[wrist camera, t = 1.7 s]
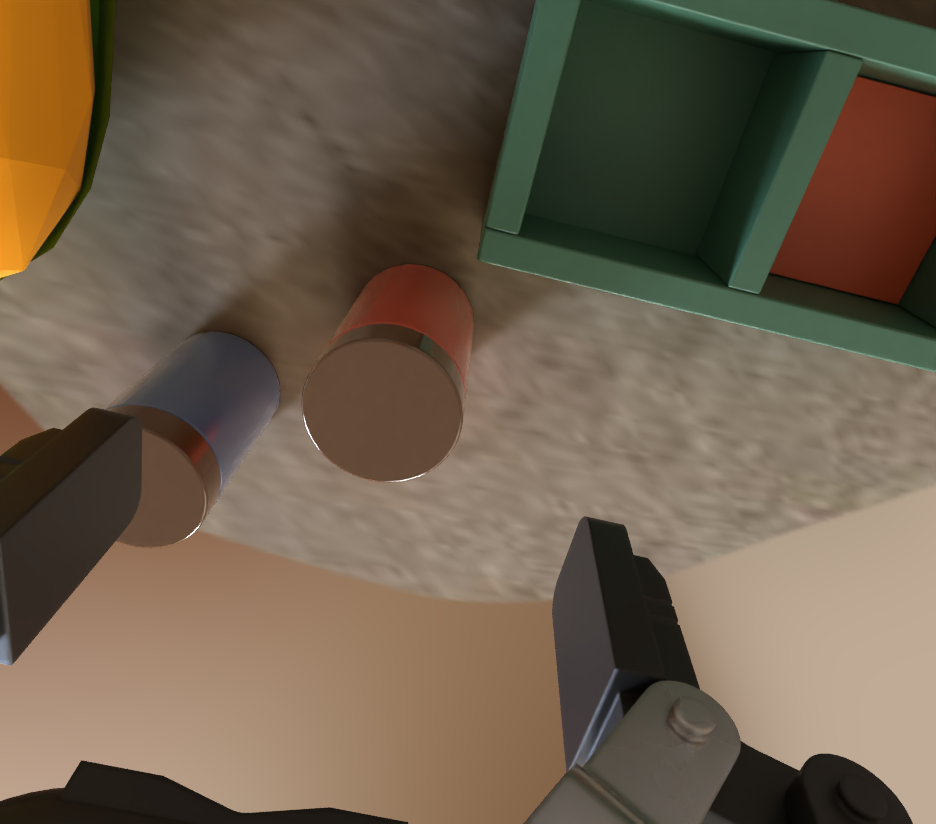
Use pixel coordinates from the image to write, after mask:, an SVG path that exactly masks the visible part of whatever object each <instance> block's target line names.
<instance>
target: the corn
mask: <svg viewBox="0 0 936 824" xmlns="http://www.w3.org/2000/svg"><path fill="white" fill-rule="evenodd" d="M114 20H115V0H0V280H2V279H3V278H5V277H7V276H8V275H11V274H14V273H18V272H21V271H24V270H25V268H26V267H27V265H28V264H29V263H30V262H31V261H33V260H34V259H36V258H38V257H39V256H41V255H42V254H44V253H46V252H47V251H49V250H51V249H52V248H54V246H55V244H56V243H57V241H58V240H59V238H60V236H61V235H62V233H63V232H64V230H65V228H66V227H67V225H68V224H69V222H70V221H71V219H72V217H73V216H74V214H75V213H76V211H77V209H78V208H79V206H80V205H81V203H82V201H83V200H84V198H85V197H86V195H87V193H88V192H89V190H90V189H91V186H92V182H93V178H94V174H95V170H96V167H97V163H98V159H99V155H100V151H101V148H102V144H103V140H104V136H105V132H106V128H107V125H108V121H109V117H110V101H111V81H112V61H113V41H114Z"/></svg>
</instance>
